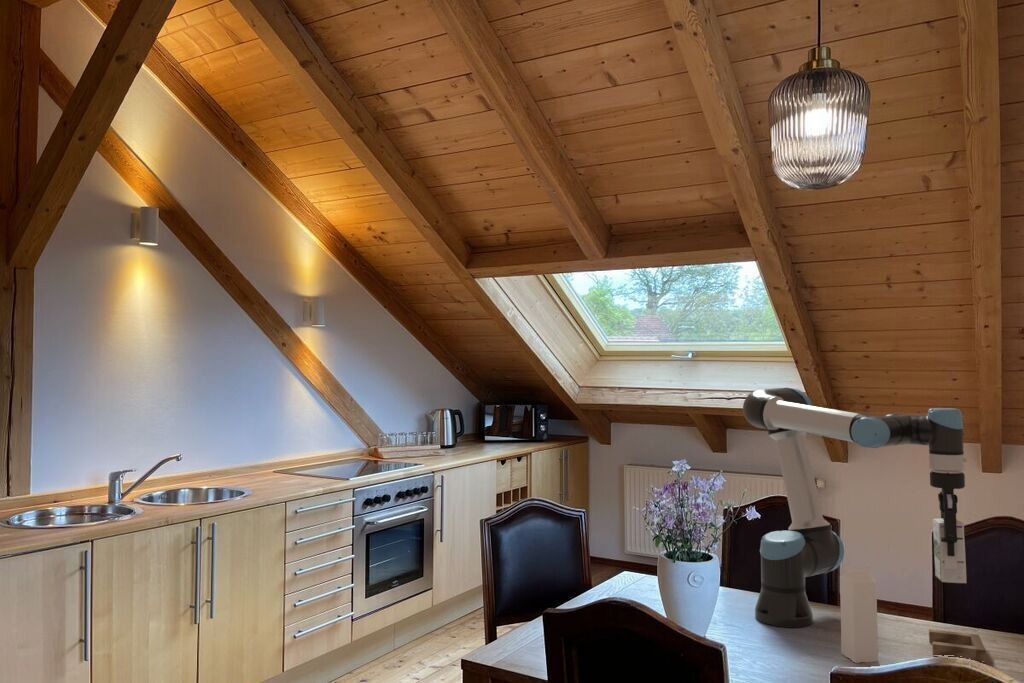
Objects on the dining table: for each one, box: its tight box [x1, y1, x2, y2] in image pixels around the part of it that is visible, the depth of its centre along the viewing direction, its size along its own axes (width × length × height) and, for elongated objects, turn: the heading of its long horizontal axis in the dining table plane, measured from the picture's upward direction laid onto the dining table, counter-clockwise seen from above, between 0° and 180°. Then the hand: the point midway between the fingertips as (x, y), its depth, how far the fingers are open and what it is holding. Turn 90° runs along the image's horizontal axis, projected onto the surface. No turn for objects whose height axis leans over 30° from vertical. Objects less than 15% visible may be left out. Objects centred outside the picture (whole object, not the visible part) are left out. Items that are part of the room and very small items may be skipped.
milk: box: [839, 564, 879, 664], centre depth 189 cm, size 6×6×22 cm
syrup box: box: [932, 517, 967, 584], centre depth 193 cm, size 6×6×14 cm
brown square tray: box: [928, 628, 987, 664], centre depth 193 cm, size 11×12×3 cm
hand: (949, 565), depth 192 cm, fingers closed on syrup box, 6 cm apart
